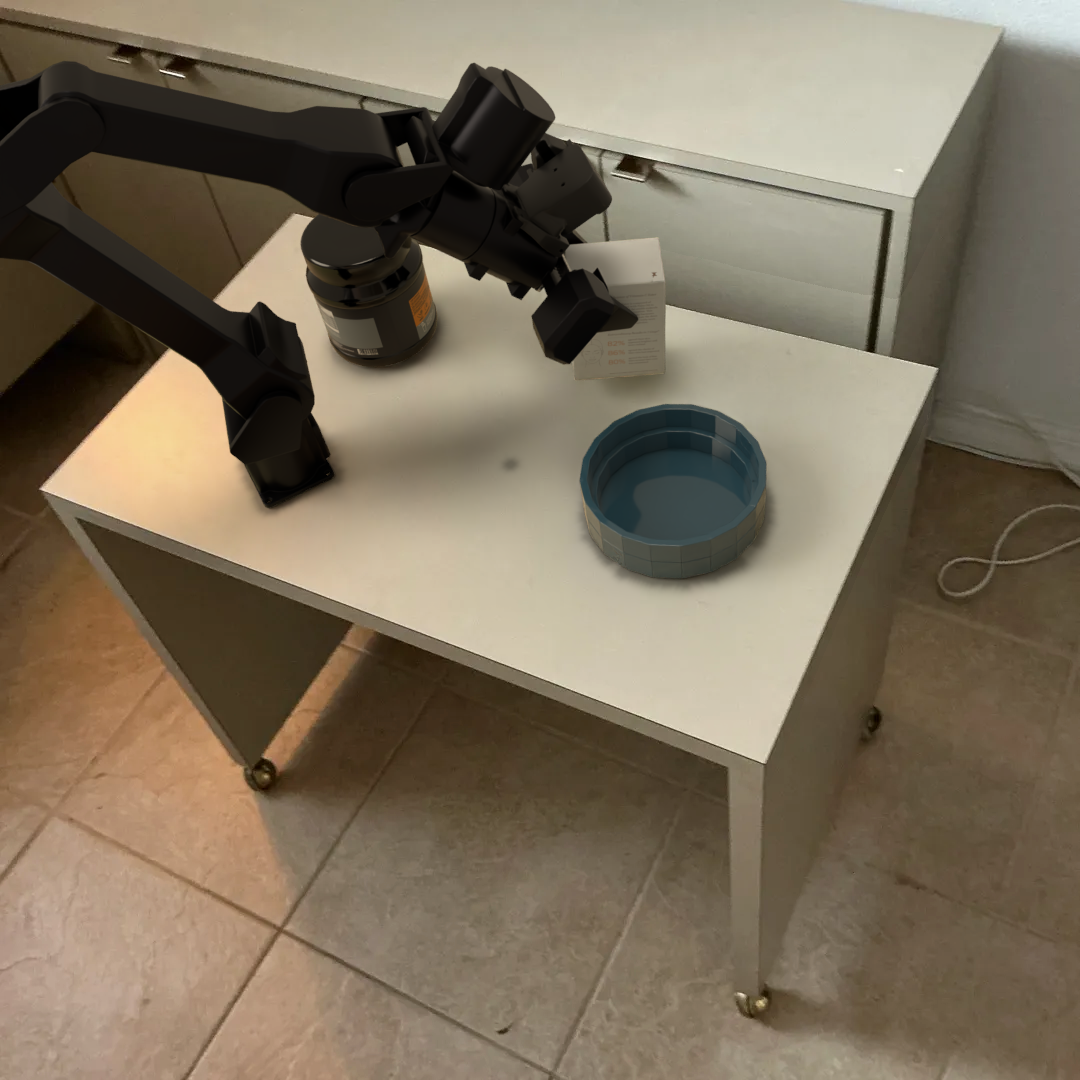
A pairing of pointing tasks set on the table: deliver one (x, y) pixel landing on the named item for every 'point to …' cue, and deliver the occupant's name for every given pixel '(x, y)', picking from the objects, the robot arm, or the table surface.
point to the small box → (640, 289)
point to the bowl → (674, 490)
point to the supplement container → (368, 293)
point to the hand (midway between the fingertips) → (621, 297)
